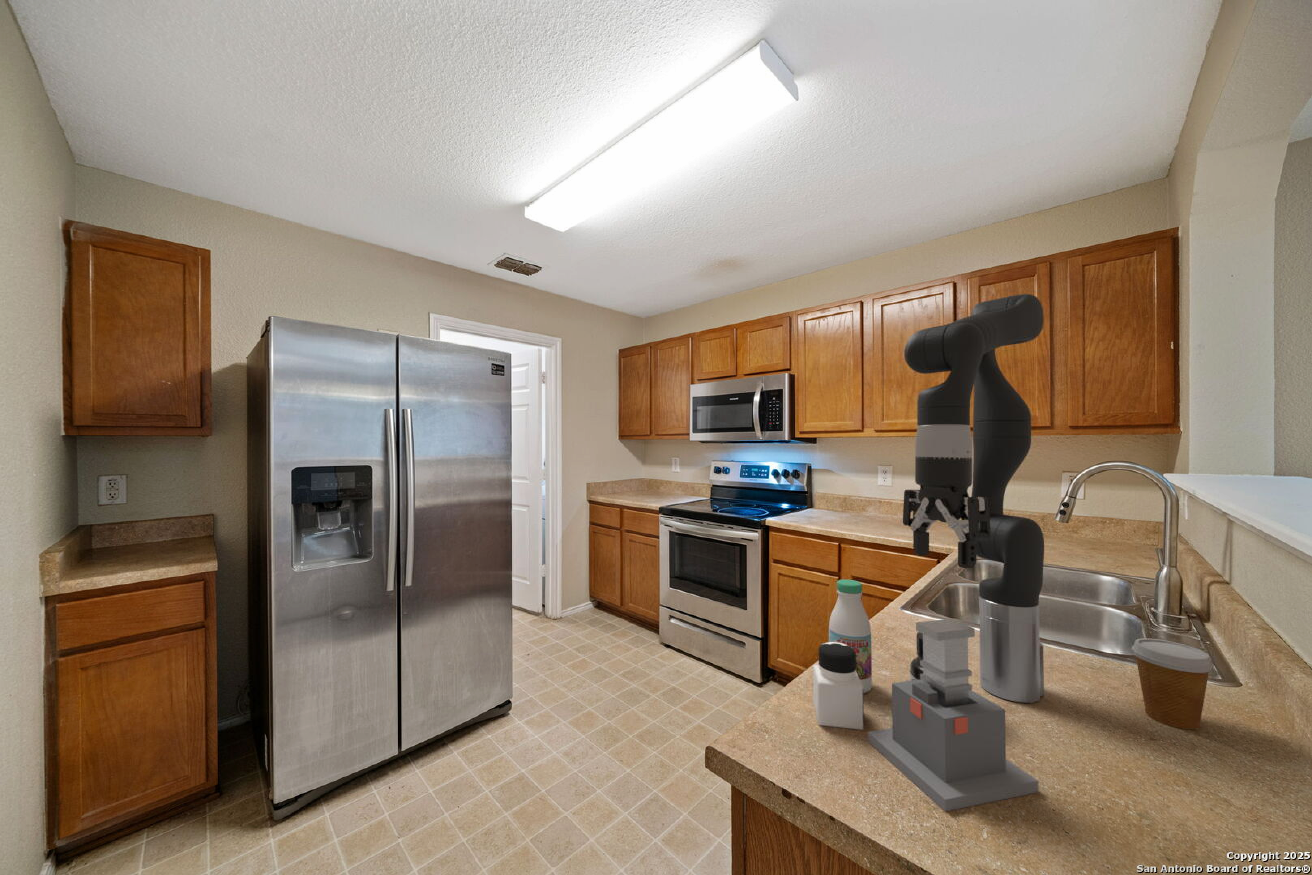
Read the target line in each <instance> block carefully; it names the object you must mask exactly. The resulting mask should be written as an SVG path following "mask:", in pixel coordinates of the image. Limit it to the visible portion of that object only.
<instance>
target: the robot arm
mask: <svg viewBox="0 0 1312 875" xmlns="http://www.w3.org/2000/svg"><path fill="white" fill-rule="evenodd" d="M1044 314H1045V313H1044V309H1043V305H1042V302H1041V300H1040V299H1039V298H1038V297H1037V296H1035V295H1034V294H1031V293H1030V294H1029V293H1028V294H1027V293H1022V294H1021V293H1020V294H1016V295H1010V296H1005V297H1001V298H994V299H991V300H986V301H982V302H979V303H977V304H975V305H974V306H973V308H972V309H971V314H970V315H969V316H966V317H963V318H960V319H957V320H955V321H952V322H950V323H947V324H943V325H938V326H933V327H929V328H928V327H927V328H924V329H920V330H917V331H916V332H914V333H913V334H912V335H911V336H909V338H908V340H907V341H906V343H905V344H904V345H905V346H904V351H903V355H904V360H905V363H906V364H907V365H908V367H909V368H910V369H911V370H912V371H914V372H916V373H918V374H923V375H925V374H926V375H928V374H935V373H944V372H949V374H948V376H947V378H946V379H945V380H944V381H943V382H941V383H940V384H937V385H934V386H931V387H928V388H925V389H923V390H921V391H920V392H919V393H918V396H917V404H916V405H917V408H916V410H917V415H916V417H917V419H916V421H917V423H916V424H917V426H916V434H915V443H914V448H915V455H914V456H915V458H914V459H915V460H914V461H915V463H914V464H915V468H914V470H915V473H914V474H915V475H914V480H915V482H914V483H916V485H919V489H905V490H904V491H903V509H902V510H903V511H902V524H903V525H904V526H907V527H909V528H910V530H911V531H912V532H913V533H912V534H913V536H912V538H913V539H912V541H913V542H912V544H913V545H912V546H913V547H912V548H913V551H914V555H917V556H919V557H922V556H924V557H925V556H928V555H929V554H930V532H929V531H928V530H930V528H931V526H932V525H933V524H934V523H935V522H937V521H939V522H941V523H946V524H947V526H948V527H949V528H950V529H952V530H953V531H954V533H955V535H956V538H958V540H959V541H957V566H958V568H962V569H973V568H974V567H975V565H976V564H977V562H978V560H977V557H979V558H980V559H984V560H988V561H990V562H991V561H993V562H996V563H1000V564H1003V567H1002V569H1003V570H1002V575H1001V576H1000V577H991V578H990V577H989V578H985V579H983V580H980V582H979V584H978V596H979V597H978V601H979V602H978V609H979V615H978V616H979V682H980V683H979V684H980V686H981V688H982V689H984V690H985V692H988V693H989V694H991V695H994V696H996V697H999V698H1000V699H1004V700H1006V701H1007V700H1008V701H1012V702H1018V703H1026V704H1027V703H1029V704H1030V703H1036V702H1039V700H1040V699H1041V697H1042V696H1045V675H1044V674H1045V672H1044V671H1045V670H1044V669H1045V668H1044V667H1045V666H1044V665H1045V664H1044V663H1045V662H1044V661H1045V660H1044V645H1043V643H1042V642H1040V595H1041V591H1042V588H1043V584H1044V583H1043V581H1044V560H1045V539H1044V532H1043V531H1042V529H1041V527H1040V525H1039V524H1038V523H1037V522H1036V521H1035V520H1033V519H1031V518H1028V517H1021V516H1015V515H1008V514H1004V499H1005V493H1006V490H1007V487H1008V484H1009V483H1010V482H1011V479H1012V478H1013V476H1014V475H1015V473H1016V472H1017V470H1018V469H1019V468H1020V466H1021V465H1022V463H1023V462H1024V460H1025V459H1026V457H1027V455H1028V453H1029V452H1030V449H1031V446H1032V414H1031V410H1030V408H1029V406H1028V404H1027V403H1026V401H1025V400H1024V399H1023V397H1022V396H1021V395H1020V394H1019V392H1017V390H1016V389H1015V388H1014V387H1013V386H1012V384H1010V382H1009V381H1008V379H1007V378H1006V377H1005V376H1004V374H1003V372H1002V370H1001V369H1000V366H999V363H998V361H997V357H996V349H998V348H1000V347H1005V346H1006V347H1007V346H1013V345H1018V344H1019V345H1020V344H1025V343H1028V342H1031V341H1033V340H1035V339H1037V337H1039V336H1040V334H1041V332H1042V331H1043V328H1044V319H1045V318H1044V316H1045V315H1044ZM972 393H973V413H972V415H973V416H972V432H971V398H972ZM970 487H971V489H972V490H971V496H969V493H968V489H969V488H970ZM911 513H912V515H911Z"/></svg>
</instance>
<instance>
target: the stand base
mask: <svg viewBox="0 0 1312 875" xmlns="http://www.w3.org/2000/svg"><path fill="white" fill-rule="evenodd" d="M968 693H969V705H962V706H956V707H949V708H944V707H943V706H941V705H940V704H938V693H937V692H936V691H934V690H933V689H931V688H929V687H928V686H926V685H925V684H923V680H922V679H920V680H912V681H910V680H907V681H905V680H904V681H898V682H891V701H892V702H891V704H892V708H891V709H892V712H891V713H892V715H891V716H892V718H891V719H892V720H891V722H892V723H891V724H892V727H890V728H883V729H877V730H871V731H867V742H868V743H869V744H870V745H871V746H872V747H874V748H875V750H877V751H878V752H879V753H880V754H881V755H882V756H883V757H884V758H886V760H888V761H889V762H890V763H891V764H892V765H893V766H894V767H896V768H897V769H898V770H899V771H900V772H901V773H902V774H903V775H904V776H905V777H906V778H908V779H909V780H910V781H911V782H912V783H913V784H914V785H916V786H917V787H918V789H920V790H921V791H922V792H923V793H924V794H925V795H926V796H927V797H929V799H931V801H933V802H934V803H935V804H936V805H937V806H939V807H940V809H942V810H943V811H944V812H950V811H954V810H959V809H960V810H961V809H964V808H969V807H974V806H977V805H983V804H989V803H992V802H997V801H1002V800H1007V799H1012V798H1016V797H1017V798H1018V797H1022V796H1027V795H1031V794H1035V793H1039V780H1038V779H1036V778H1035V777H1033V776H1032V775H1030V774H1029V773H1027V771H1024V770H1023V769H1021V768H1020V767H1019V766H1017V765H1016V764H1014V763H1013V762H1011V761H1010V760H1008V759H1007V757H1006V754H1007V753H1006V709H1005V708H1003V707H1002V706H1000V705H998V704H996V703H994V702H993V701H991V700H989V699H987V698H986V697H984V696H982V695H981V694H979V693H977V692H975V691H974V690H973V689H972V690H969V691H968Z"/></svg>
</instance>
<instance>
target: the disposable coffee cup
mask: <svg viewBox="0 0 1312 875" xmlns="http://www.w3.org/2000/svg"><path fill="white" fill-rule="evenodd" d="M1131 651H1132V652H1133V654H1134V655H1135V660H1136V666H1137V670H1138V677H1139V681H1140V687H1141V693H1142V698H1143V703H1144V710H1145V713H1146V715H1147V716H1149V717H1150V718H1151V719H1154V721H1155V720H1156V721H1157V722H1159V723H1162V724H1165V725H1168V726H1171V727H1174V728H1178V729H1183V730H1192V729H1193V730H1198V729H1200V726H1201V719H1202V715H1203V709H1204V702H1205V698H1206V697H1205V696H1206V691H1207V685H1208V684H1207V683H1208V680H1209V673H1210V671H1211V669H1213V667H1214V663H1213V662H1211V660H1210V657H1209V655H1208V654H1207V653H1206V652H1204V651H1203V650H1201V649H1198V648H1196V647H1193V646H1189V645H1186V644H1183V643H1179V642H1174V641H1170V640H1166V639H1158V638H1156V639H1155V638H1149V637H1147V638H1143V637H1142V638H1137V639H1135V641H1134V643H1133V645H1132V646H1131ZM1197 728H1198V729H1197Z"/></svg>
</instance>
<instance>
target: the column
mask: <svg viewBox="0 0 1312 875" xmlns="http://www.w3.org/2000/svg"><path fill="white" fill-rule="evenodd" d="M975 630H976V629H975V628H974V627H972V626H969V625H968V624H965V623H962V622H961V621H958V620H955V619H954V618H953V619H952V618H947V619H936V620H928V621H927V620H926V621H916V622H915V631H916V632H917V633H918V632H920V633H922V634H923V660H920V665H921V666H922V667H923V674H920V679H922V680H923V684H925V685H926V686H928V687H929V688H931V689H933V690H934V691H936V692H937V693H938V704H940V705H941V706H943V707H944V708H949V707H956V706H962V705H969V693H968V691H969V690H972V691H973V685H972V684H971V683H969V677H972V676H973V674H972V673H973V672H972V670H970V669H969V638H975V635H976V634H975Z"/></svg>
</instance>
